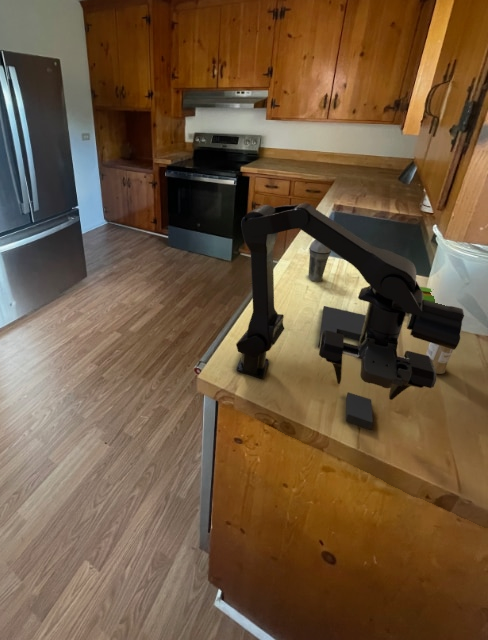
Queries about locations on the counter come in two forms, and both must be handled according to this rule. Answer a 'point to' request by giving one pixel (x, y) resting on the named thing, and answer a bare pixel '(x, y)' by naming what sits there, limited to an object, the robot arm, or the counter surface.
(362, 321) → the dark u-shaped block
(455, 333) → the robot arm
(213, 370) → the counter surface
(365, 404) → the small pad
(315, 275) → the beverage cup
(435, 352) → the tan spice jar
